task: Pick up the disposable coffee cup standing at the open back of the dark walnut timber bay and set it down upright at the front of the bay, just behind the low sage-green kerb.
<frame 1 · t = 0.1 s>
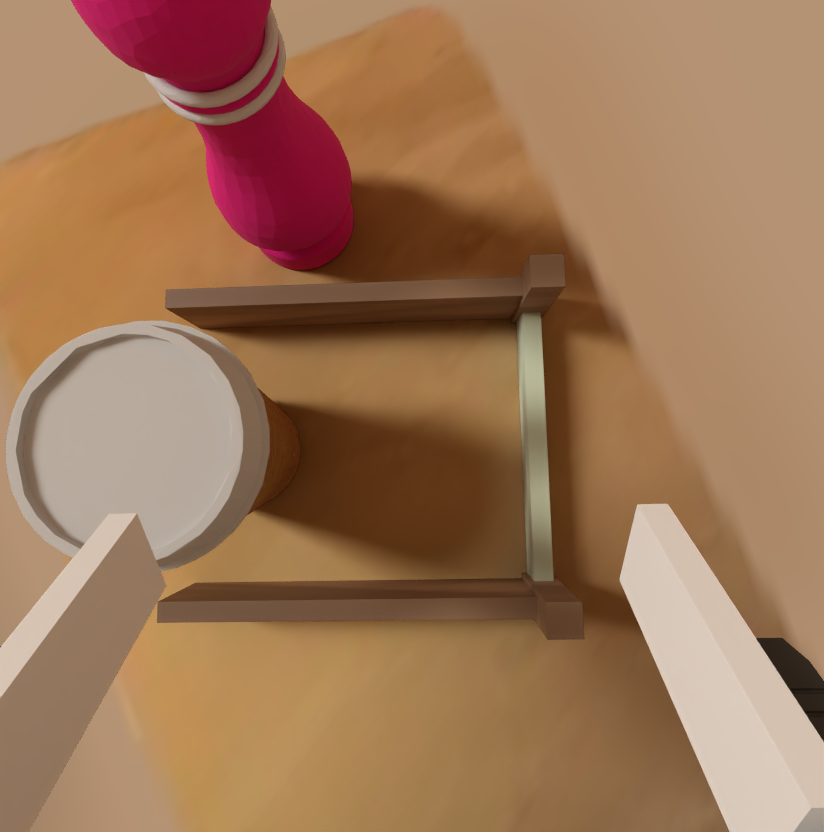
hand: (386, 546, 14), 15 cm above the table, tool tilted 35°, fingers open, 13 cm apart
pepper mill: (304, 223, 31), on the table
disposable coffee cup: (249, 451, 30), on the table
bay: (366, 448, 29), on the table
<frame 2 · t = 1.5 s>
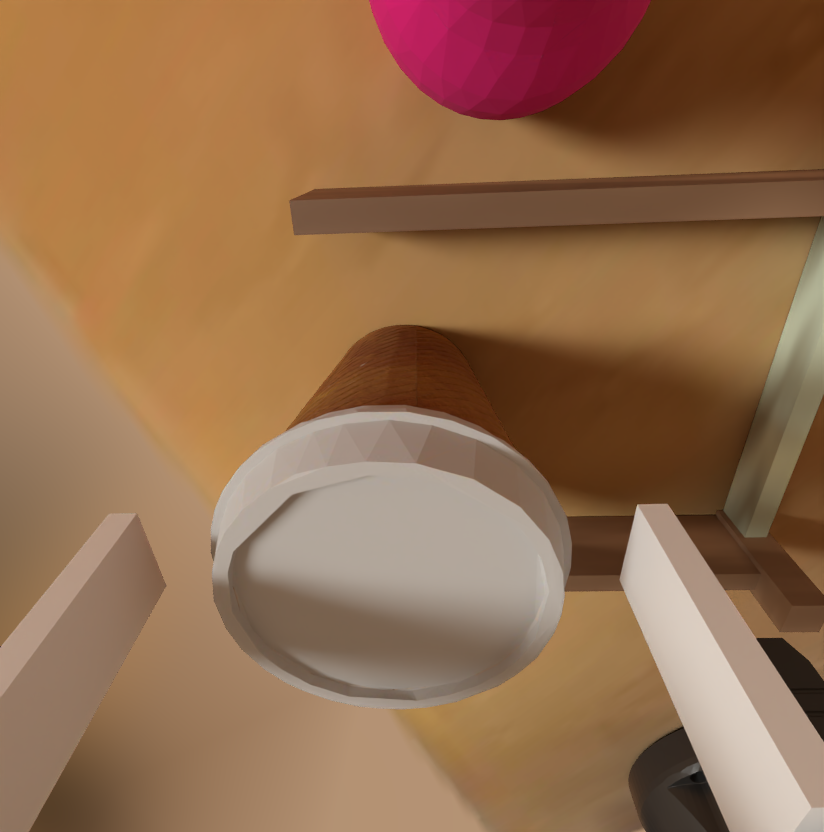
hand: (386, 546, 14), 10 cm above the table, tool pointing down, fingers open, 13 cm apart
disposable coffee cup: (404, 389, 23), on the table
bay: (560, 387, 22), on the table
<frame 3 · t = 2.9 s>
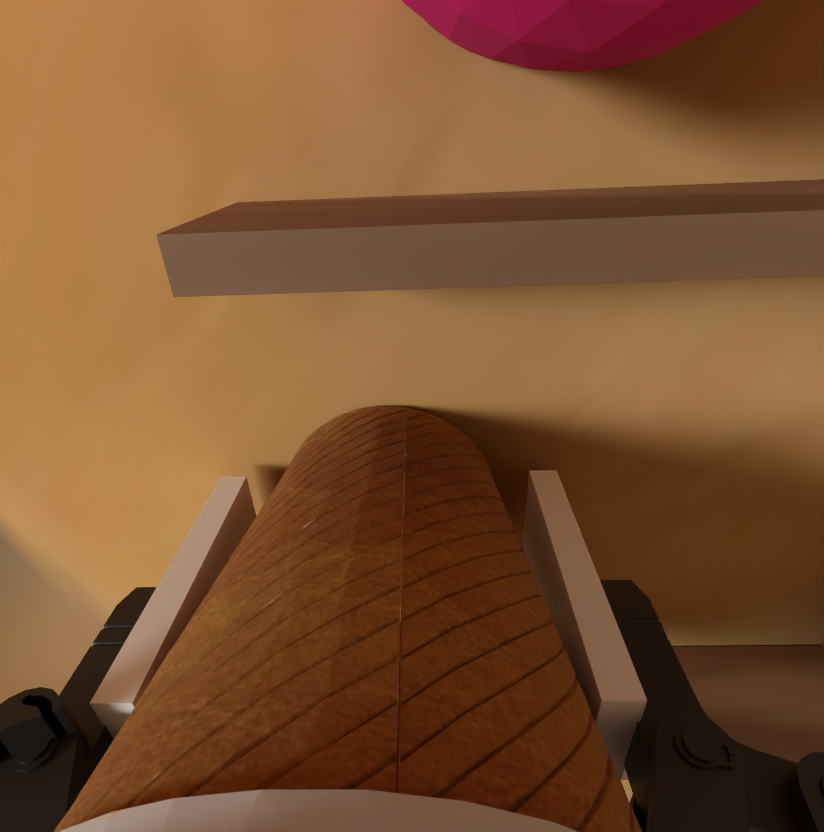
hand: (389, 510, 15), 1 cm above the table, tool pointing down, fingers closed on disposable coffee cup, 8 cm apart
disposable coffee cup: (391, 489, 16), on the table, touching gripper
bay: (619, 490, 15), on the table
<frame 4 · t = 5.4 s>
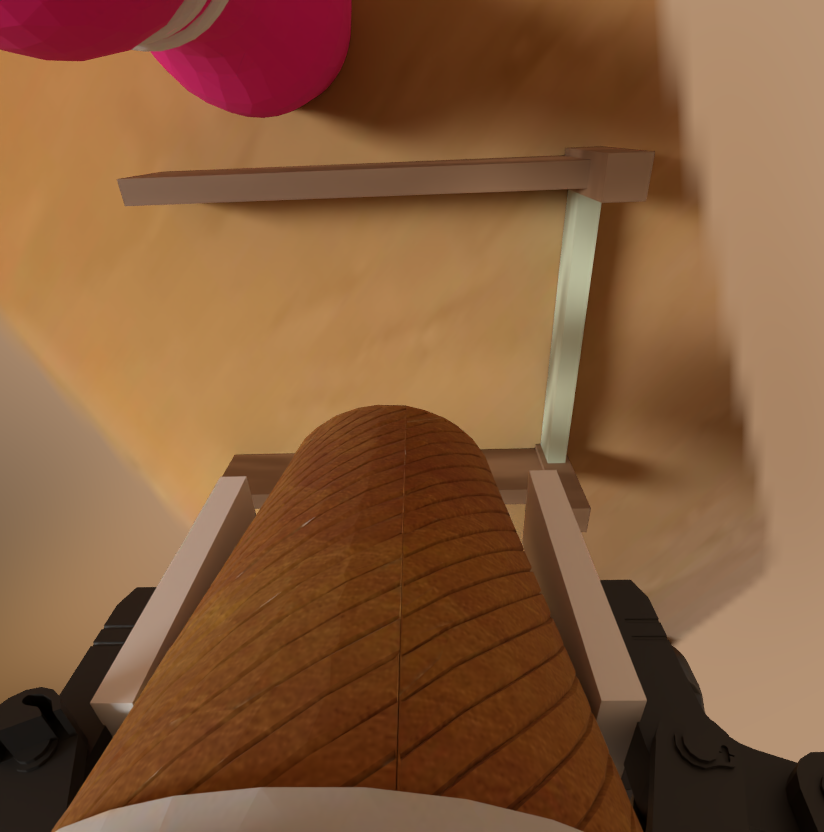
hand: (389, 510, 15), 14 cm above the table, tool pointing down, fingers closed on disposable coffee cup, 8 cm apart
pepper mill: (277, 18, 21), on the table
disposable coffee cup: (390, 488, 16), point 13 cm above the table, touching gripper
bay: (386, 337, 27), on the table
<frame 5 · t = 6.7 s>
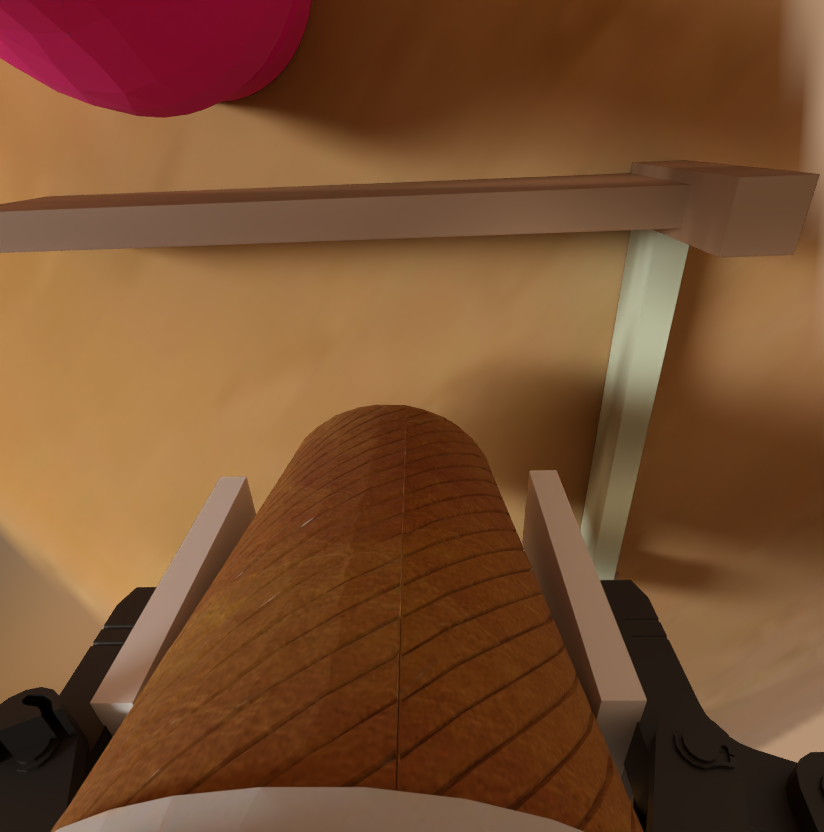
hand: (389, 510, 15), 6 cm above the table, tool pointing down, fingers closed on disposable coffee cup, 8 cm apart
disposable coffee cup: (390, 488, 16), point 5 cm above the table, touching gripper
bay: (373, 416, 20), on the table
when the fingers open (3 cm above the table, at t = 7.8 s): disposable coffee cup drops 2 cm, on the table.
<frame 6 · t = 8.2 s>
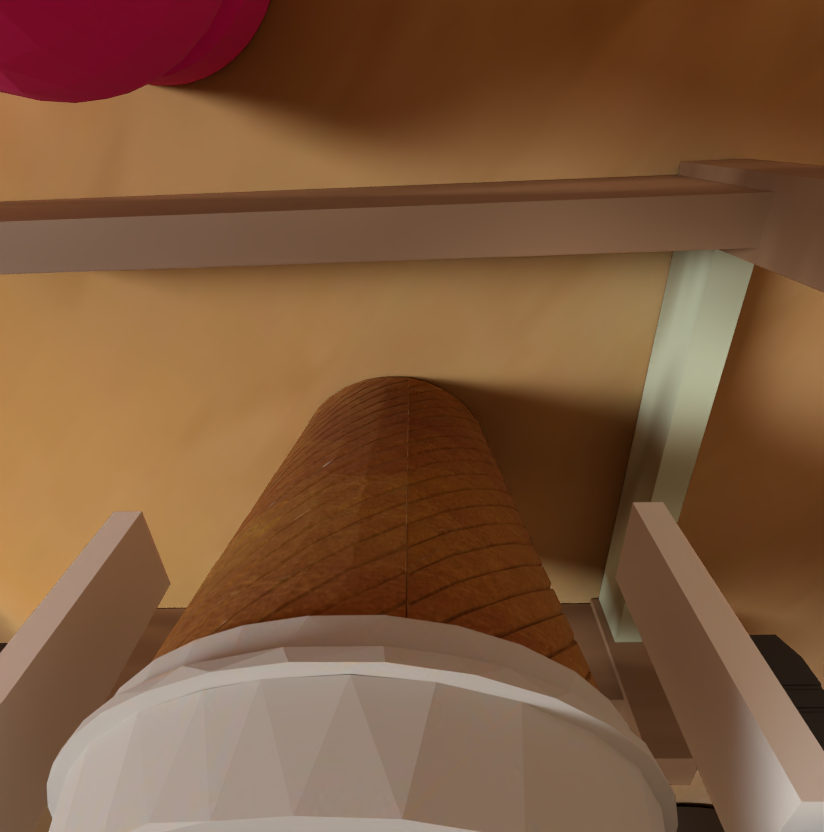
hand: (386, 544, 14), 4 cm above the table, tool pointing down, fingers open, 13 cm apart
disposable coffee cup: (394, 455, 17), on the table
bay: (364, 458, 17), on the table
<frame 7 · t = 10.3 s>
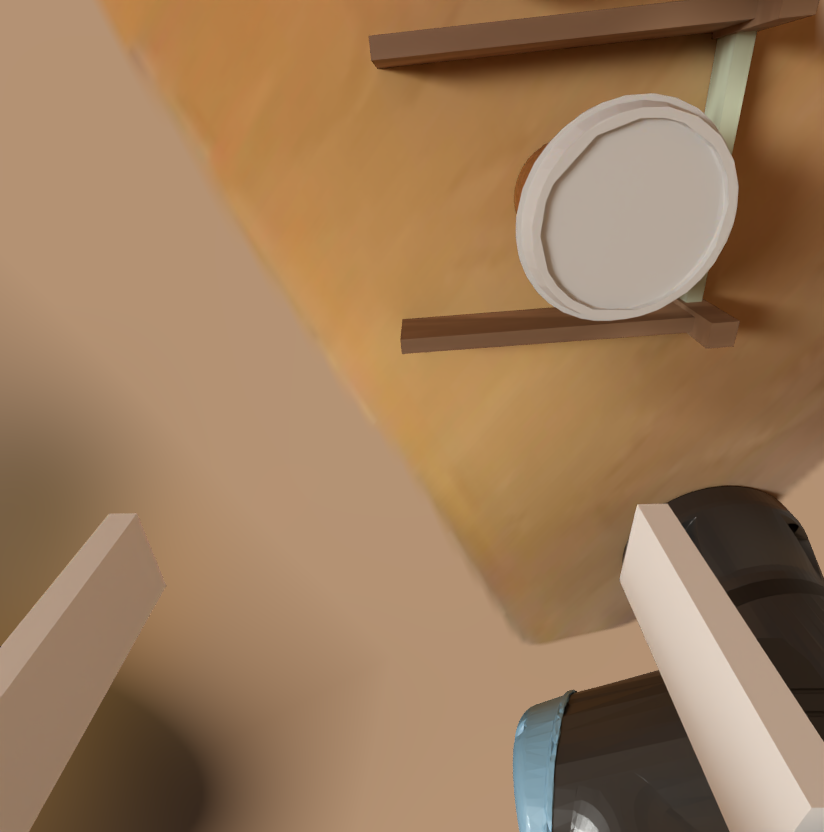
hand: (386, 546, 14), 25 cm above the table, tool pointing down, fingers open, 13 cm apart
disposable coffee cup: (562, 192, 32), on the table
bay: (547, 194, 32), on the table
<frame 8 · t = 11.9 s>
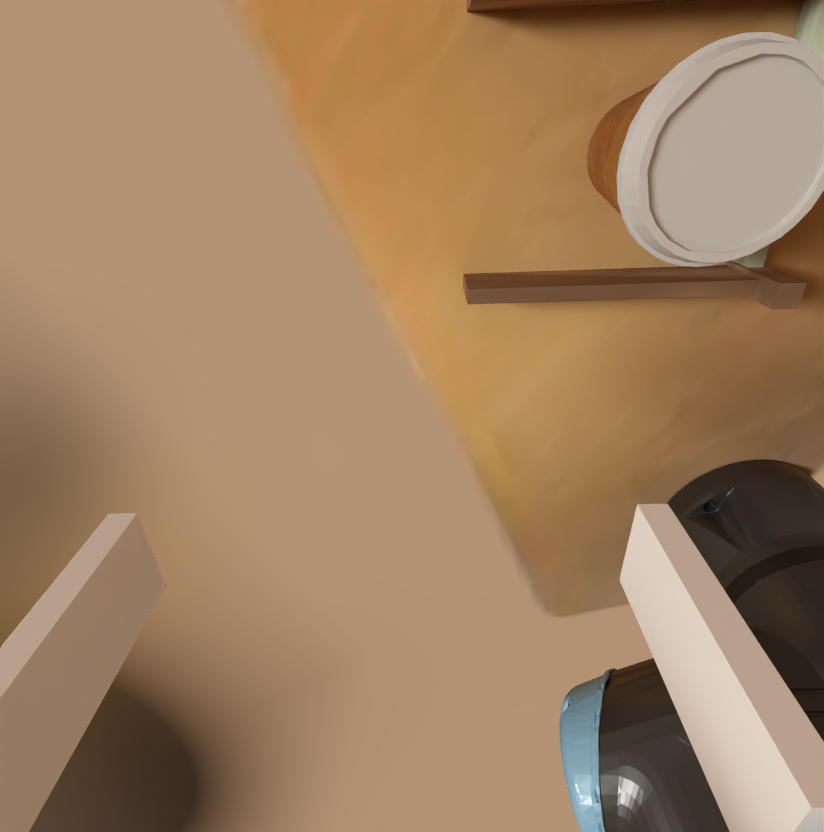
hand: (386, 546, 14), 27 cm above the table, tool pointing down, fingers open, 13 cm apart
disposable coffee cup: (635, 151, 32), on the table
bay: (620, 151, 32), on the table
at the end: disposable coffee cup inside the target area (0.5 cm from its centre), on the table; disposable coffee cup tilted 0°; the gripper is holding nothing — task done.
